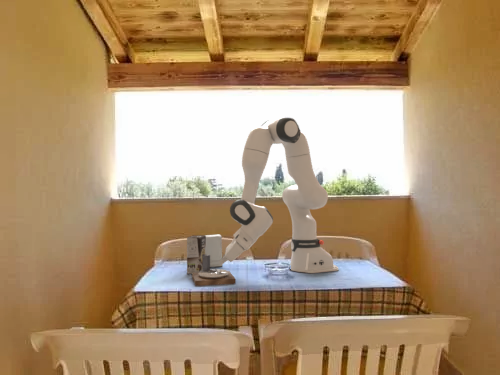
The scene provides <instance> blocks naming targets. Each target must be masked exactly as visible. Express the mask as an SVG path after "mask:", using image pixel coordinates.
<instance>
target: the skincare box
mask: <svg viewBox="0 0 500 375" xmlns="http://www.w3.org/2000/svg"><path fill="white" fill-rule="evenodd" d="M203 236H206V254H207V255H210V268H212V267H213V268H215V267H223V265H221V264H220V263H219V260H220V259H221V258H222V257H223V242H222V241H223V240H222V238H223V237H222V235H221V234H218V233H217V234H207V235H206V234H205V235H203Z"/></svg>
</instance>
